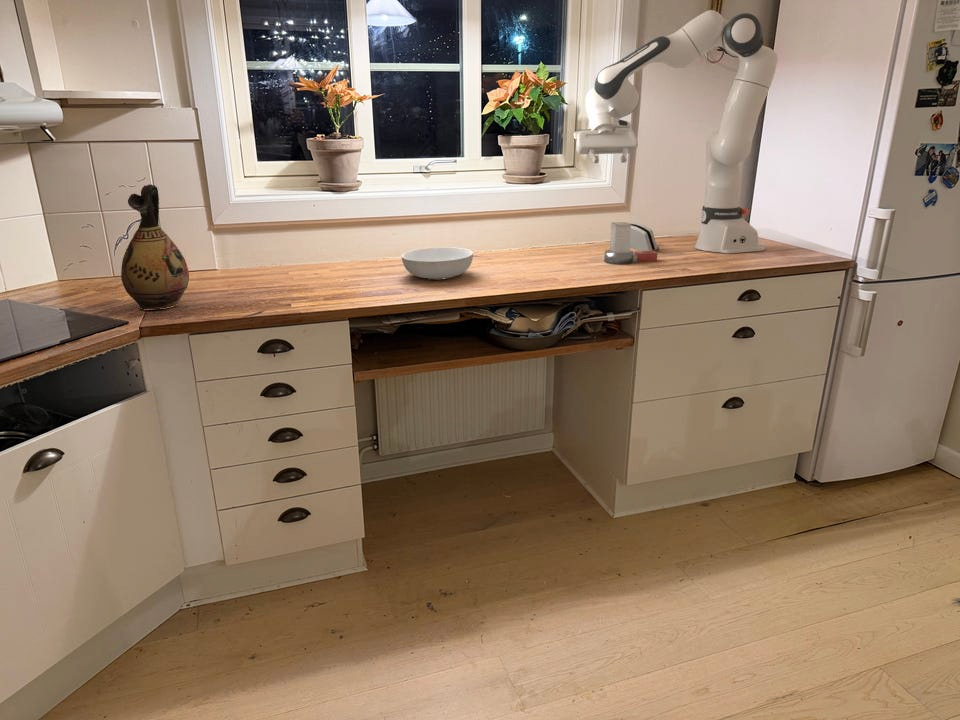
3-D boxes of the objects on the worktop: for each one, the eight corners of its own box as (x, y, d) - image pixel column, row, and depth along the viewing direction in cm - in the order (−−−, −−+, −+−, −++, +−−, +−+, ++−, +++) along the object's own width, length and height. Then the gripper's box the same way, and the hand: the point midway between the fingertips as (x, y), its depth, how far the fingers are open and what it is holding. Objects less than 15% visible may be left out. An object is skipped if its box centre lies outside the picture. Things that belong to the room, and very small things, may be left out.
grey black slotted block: (661, 251, 230) (655, 224, 226) (651, 257, 229) (645, 230, 224) (627, 243, 244) (622, 217, 239) (618, 249, 242) (612, 223, 238)
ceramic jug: (182, 313, 167) (160, 188, 157) (117, 315, 166) (91, 190, 156) (203, 295, 183) (184, 181, 173) (144, 297, 182) (122, 182, 171)
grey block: (624, 250, 217) (626, 222, 214) (629, 253, 213) (631, 224, 210) (609, 250, 217) (611, 222, 214) (614, 253, 212) (615, 224, 209)
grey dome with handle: (650, 257, 221) (651, 234, 219) (660, 262, 213) (662, 239, 210) (600, 259, 220) (601, 235, 217) (608, 265, 211) (610, 240, 209)
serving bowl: (432, 265, 214) (431, 244, 212) (487, 273, 203) (487, 250, 200) (387, 279, 198) (386, 255, 196) (444, 288, 187) (443, 263, 185)
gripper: (574, 122, 224) (581, 155, 218) (634, 121, 226) (642, 154, 220) (571, 136, 229) (577, 168, 224) (629, 135, 231) (637, 167, 226)
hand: (610, 161), depth 222 cm, fingers open, 8 cm apart
